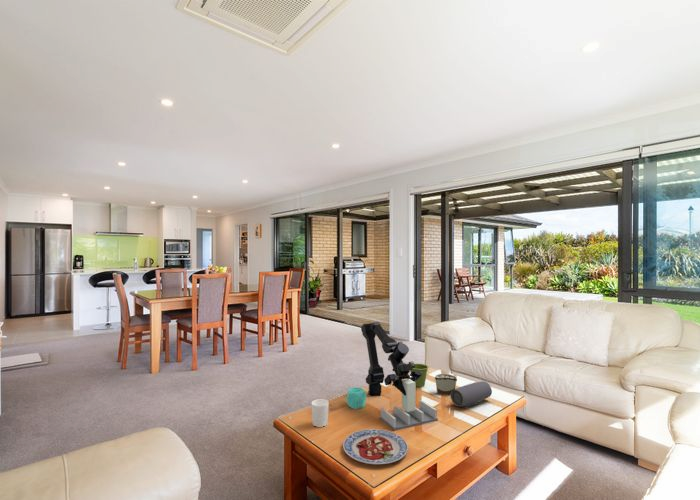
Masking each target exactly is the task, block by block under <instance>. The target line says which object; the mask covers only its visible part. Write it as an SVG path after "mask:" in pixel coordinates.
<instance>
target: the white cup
mask: <svg viewBox="0 0 700 500" xmlns="http://www.w3.org/2000/svg"><path fill="white" fill-rule="evenodd" d="M329 404H330V403H329V400H327V399H323V398H319V399H318V398H317V399H314V400H312V401H311V419H312V420H311V422H312V426H313V425H315V426H318V427H322V428H324V427H323V426H325V427H327V426H328V421H329V419H328V418H329ZM326 425H327V426H326Z"/></svg>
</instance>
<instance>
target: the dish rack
mask: <svg viewBox="0 0 700 500" xmlns="http://www.w3.org/2000/svg"><path fill="white" fill-rule="evenodd" d="M393 406H394V407H393V411H394V413H390V412H389V411H387V410H386V409H385V408H384V407H381V408H380V415H379V419H380V420H381V421H382V422H383V424H385V425H386V426H388V427H389V428H390V429H392V431H394V432H395V431H398V430H399V431H400V430H403V429H407V428H412V427H416V426H420V425H426V424H429V423H434V422H437V421H439V419H438V417H437V415H438V413H437V412H438V411H437V408H435V407H433V406H431V405H430V404H428V403H427V402H426V401H424V400H422V399H420V400H419V407H416V410H414V411H409V412H407V411H406V410H404V409H403V408H402V407H401V408H400V407H399V406H398V405H395V404H394V405H393Z"/></svg>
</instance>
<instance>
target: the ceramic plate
mask: <svg viewBox="0 0 700 500" xmlns="http://www.w3.org/2000/svg"><path fill="white" fill-rule="evenodd" d="M342 447H343V451H344V452H345V454H347V456H349V457H350V458H351V459H353V460H355V461H358V462H360V463H364V464H369V465H385V464H391V463H394V462H397V461H399V460H401V459H403V458H404V457H405V456H406V454H407V452H408V448H409V446H408V444H407V441H406V440H405V439H404V438H403V437H402V436H400V435H398V434H397V433H394V432H392V431H389V430H386V429H385V430H384V429H378V428H369V429H361V430H358V431H354V432H353V433H351V434H349V435H348V436H347V437H346V438H345V439H344V440H343V442H342Z"/></svg>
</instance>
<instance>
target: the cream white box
mask: <svg viewBox="0 0 700 500" xmlns="http://www.w3.org/2000/svg"><path fill="white" fill-rule="evenodd" d="M402 384H403V387H404V389H405V391H406V396H405V395H404V394H403V393H402V392H401V409H402V410H403V411H407V412H409V411H414V410H416V408H417V407H416V389H417V388H416V387H417V386H416V382H414V381H412V380H410V379H403V380H402Z"/></svg>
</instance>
